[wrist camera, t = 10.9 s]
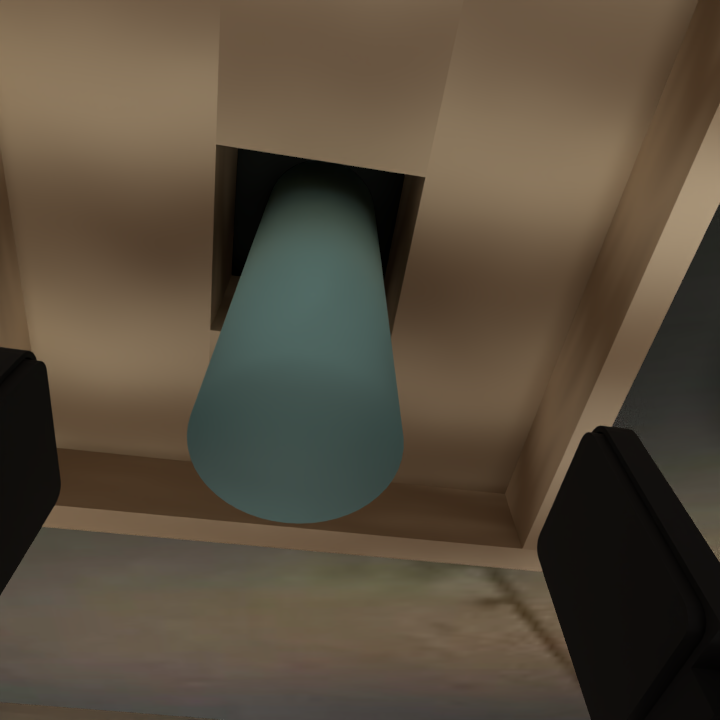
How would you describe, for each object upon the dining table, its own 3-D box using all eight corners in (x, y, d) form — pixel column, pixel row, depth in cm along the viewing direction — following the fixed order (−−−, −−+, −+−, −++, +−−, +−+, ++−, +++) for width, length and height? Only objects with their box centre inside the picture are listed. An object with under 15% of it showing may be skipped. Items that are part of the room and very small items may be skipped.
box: (499, 446, 26) (541, 571, 20) (65, 397, 24) (-19, 521, 18) (683, -58, 16) (855, -79, 11) (-9, -201, 15) (-225, -316, 9)
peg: (365, 270, 21) (383, 532, 11) (263, 256, 21) (186, 513, 11) (383, 169, 19) (424, 371, 9) (272, 151, 19) (187, 342, 9)
